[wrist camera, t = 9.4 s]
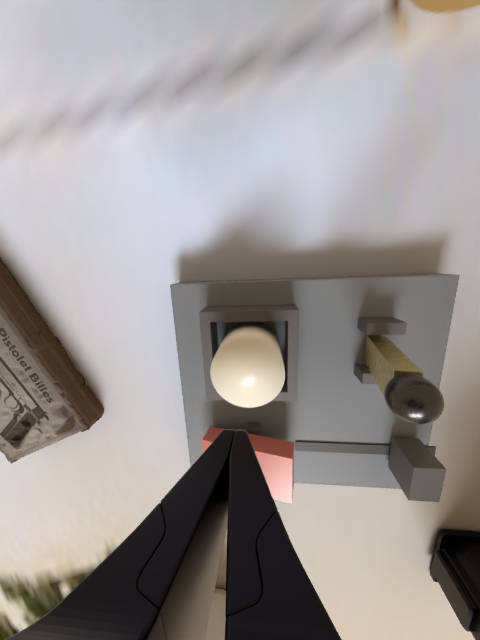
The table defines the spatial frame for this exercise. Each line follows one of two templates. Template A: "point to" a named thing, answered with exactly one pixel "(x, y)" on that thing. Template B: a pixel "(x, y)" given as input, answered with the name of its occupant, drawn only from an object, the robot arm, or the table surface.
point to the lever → (402, 382)
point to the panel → (316, 364)
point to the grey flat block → (36, 380)
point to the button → (248, 366)
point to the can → (217, 616)
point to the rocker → (268, 461)
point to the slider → (416, 469)
